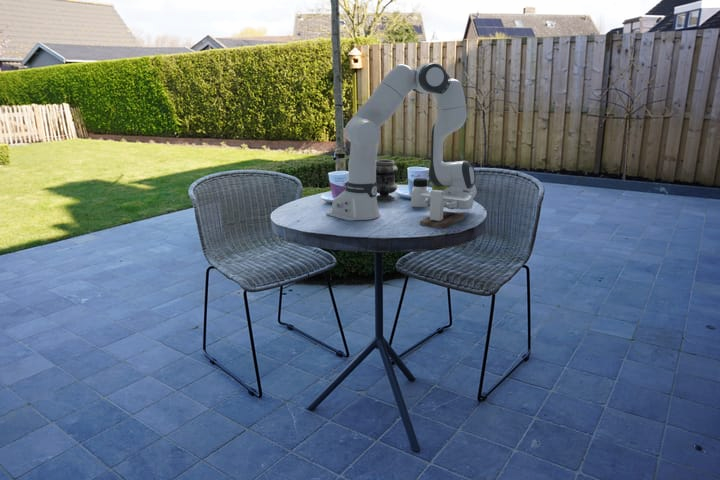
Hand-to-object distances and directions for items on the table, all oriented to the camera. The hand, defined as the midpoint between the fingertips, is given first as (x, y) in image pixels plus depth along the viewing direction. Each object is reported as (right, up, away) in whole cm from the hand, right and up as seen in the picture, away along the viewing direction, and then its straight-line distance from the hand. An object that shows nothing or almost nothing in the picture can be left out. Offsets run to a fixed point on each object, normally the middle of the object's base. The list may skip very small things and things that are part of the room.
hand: (436, 204), depth 188 cm
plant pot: (+8, +4, +41) cm, 42 cm away
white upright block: (0, -6, +2) cm, 6 cm away
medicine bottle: (-2, +2, +34) cm, 34 cm away
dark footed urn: (-17, +6, +46) cm, 50 cm away
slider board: (+4, -6, +7) cm, 10 cm away
